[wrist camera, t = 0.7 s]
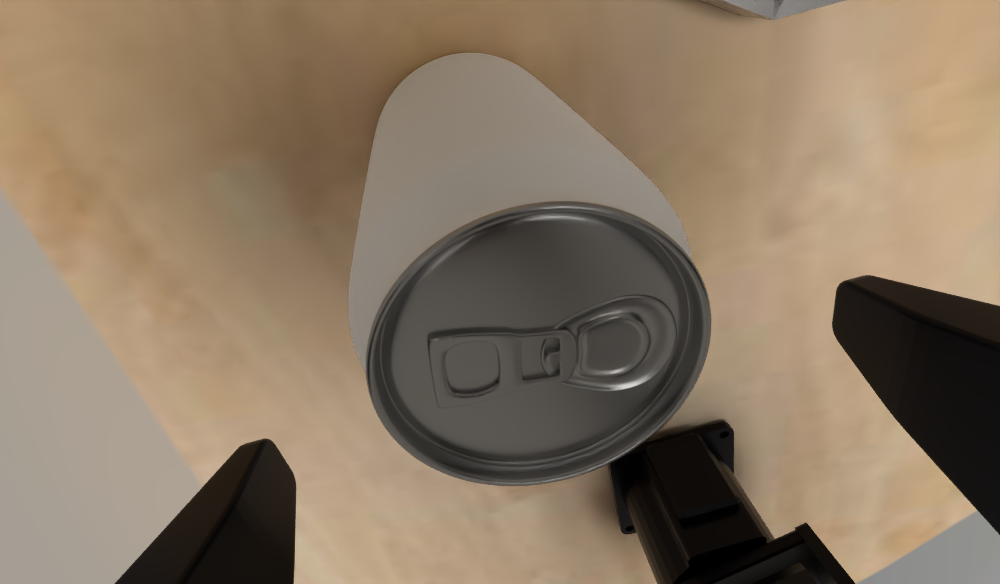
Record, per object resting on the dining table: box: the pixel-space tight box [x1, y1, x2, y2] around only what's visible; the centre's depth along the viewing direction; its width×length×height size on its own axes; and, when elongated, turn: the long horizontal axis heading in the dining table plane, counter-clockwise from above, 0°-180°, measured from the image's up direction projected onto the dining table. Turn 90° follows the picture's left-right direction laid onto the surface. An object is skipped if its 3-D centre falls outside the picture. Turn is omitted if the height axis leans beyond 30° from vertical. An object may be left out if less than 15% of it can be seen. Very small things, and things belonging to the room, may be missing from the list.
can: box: [348, 53, 711, 486], centre depth 14 cm, size 6×6×12 cm
